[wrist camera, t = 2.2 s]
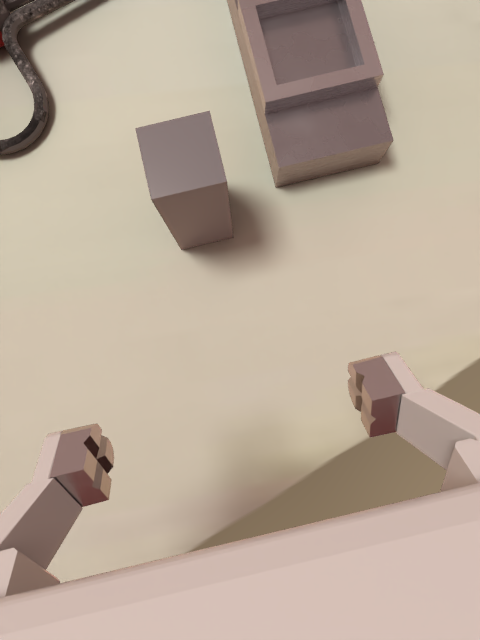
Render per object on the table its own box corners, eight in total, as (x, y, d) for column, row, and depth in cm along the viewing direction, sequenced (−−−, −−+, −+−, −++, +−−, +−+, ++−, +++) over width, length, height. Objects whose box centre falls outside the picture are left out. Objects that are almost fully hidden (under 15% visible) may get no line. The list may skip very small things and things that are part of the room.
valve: (-67, 222, 32) (-170, 60, 31) (204, 78, 34) (115, -77, 33) (-135, 198, 25) (-266, -8, 24) (205, 22, 27) (94, -171, 27)
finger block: (181, 249, 29) (151, 199, 20) (168, 195, 29) (133, 121, 20) (233, 237, 29) (226, 181, 20) (220, 182, 29) (207, 103, 20)
